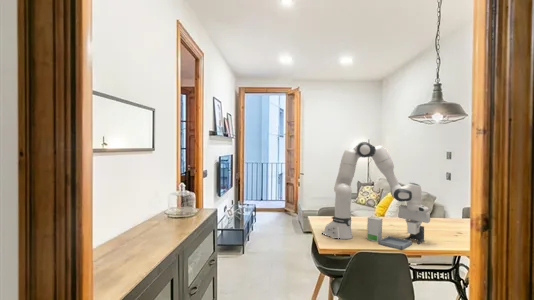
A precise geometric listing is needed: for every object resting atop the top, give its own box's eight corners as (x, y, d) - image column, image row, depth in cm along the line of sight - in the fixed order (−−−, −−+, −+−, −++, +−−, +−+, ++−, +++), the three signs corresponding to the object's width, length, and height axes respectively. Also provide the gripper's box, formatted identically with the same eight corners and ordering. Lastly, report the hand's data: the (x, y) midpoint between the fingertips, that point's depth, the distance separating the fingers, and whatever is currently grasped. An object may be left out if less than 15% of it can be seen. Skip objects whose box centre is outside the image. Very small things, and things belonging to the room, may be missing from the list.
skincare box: (366, 239, 210) (366, 217, 210) (371, 237, 215) (371, 215, 215) (378, 242, 205) (378, 219, 204) (382, 240, 209) (382, 217, 209)
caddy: (407, 232, 206) (407, 221, 206) (411, 230, 212) (412, 219, 212) (414, 234, 202) (415, 222, 202) (419, 232, 208) (419, 220, 208)
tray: (378, 244, 201) (378, 240, 201) (388, 239, 211) (388, 235, 211) (402, 250, 189) (402, 246, 189) (412, 244, 200) (412, 240, 200)
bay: (404, 241, 207) (404, 226, 207) (410, 238, 214) (410, 224, 214) (418, 244, 201) (418, 229, 200) (424, 241, 208) (424, 226, 208)
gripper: (396, 204, 212) (396, 224, 212) (428, 209, 197) (427, 230, 197) (400, 203, 216) (400, 223, 217) (431, 208, 202) (430, 229, 202)
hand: (413, 226), depth 207 cm, fingers closed on caddy, 5 cm apart
